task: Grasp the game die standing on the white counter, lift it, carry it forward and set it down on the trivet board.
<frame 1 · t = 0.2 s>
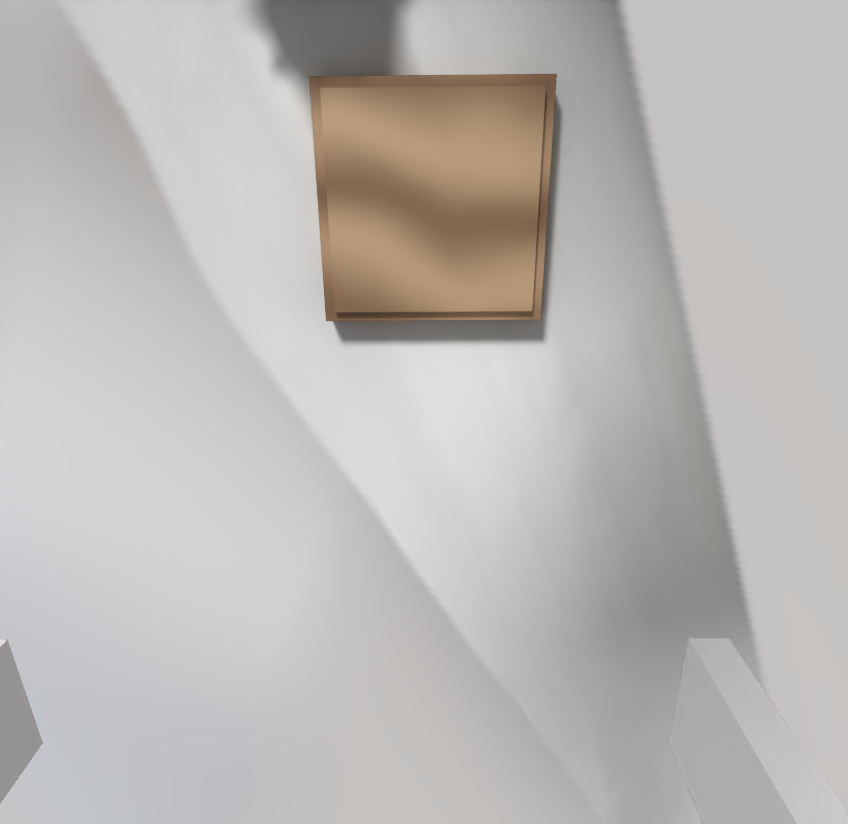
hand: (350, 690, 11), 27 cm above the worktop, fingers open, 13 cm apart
trivet: (432, 205, 34), on the worktop
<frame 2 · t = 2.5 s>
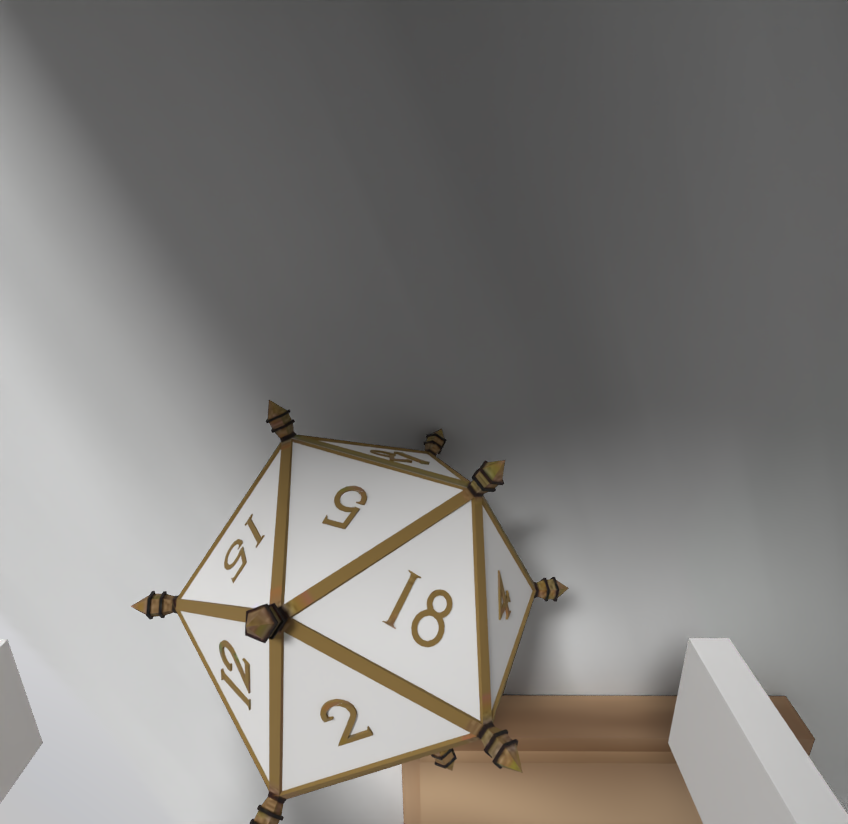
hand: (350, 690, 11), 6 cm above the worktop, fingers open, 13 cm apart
game die: (380, 501, 17), on the worktop
trivet: (576, 820, 22), on the worktop
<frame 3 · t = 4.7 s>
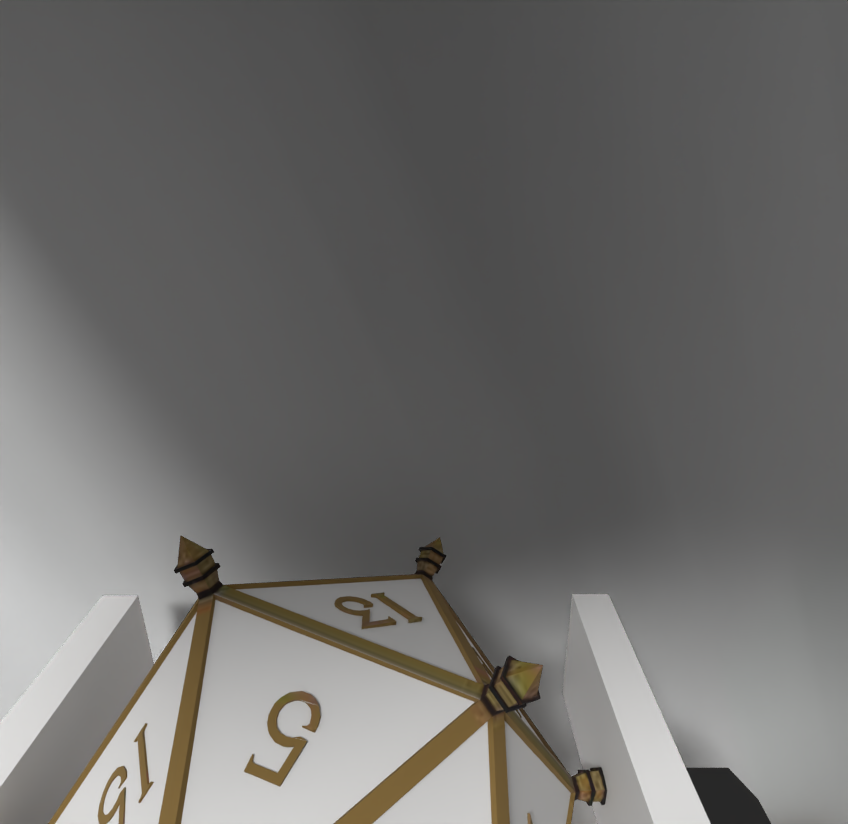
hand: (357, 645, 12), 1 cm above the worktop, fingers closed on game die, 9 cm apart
game die: (359, 625, 13), point 1 cm above the worktop, touching gripper
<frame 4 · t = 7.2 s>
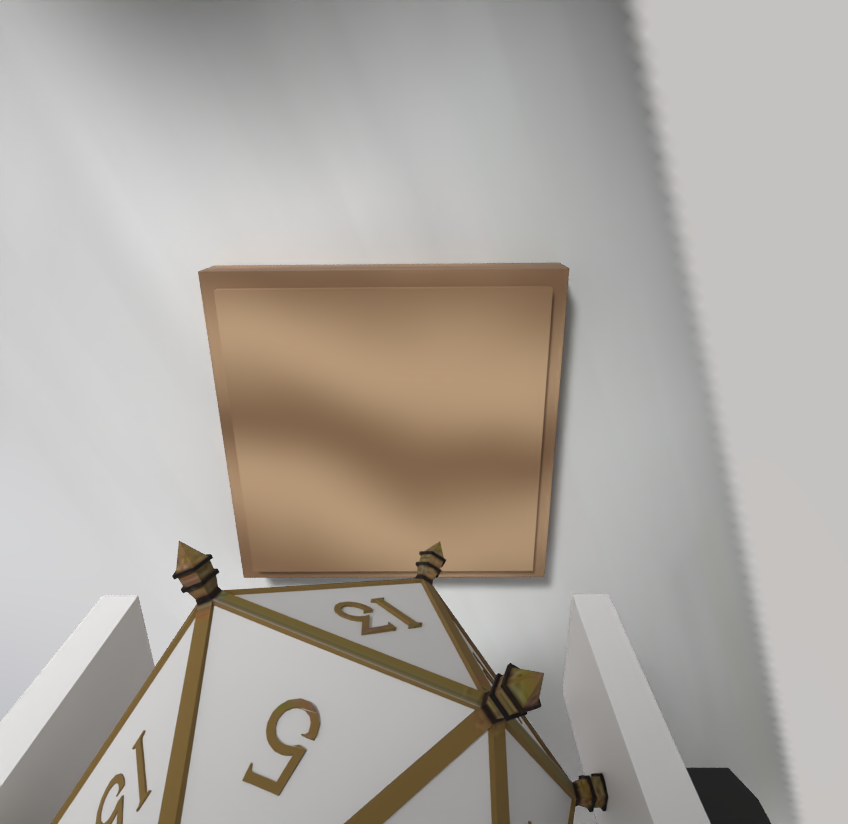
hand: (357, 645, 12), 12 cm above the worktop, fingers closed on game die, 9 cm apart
game die: (359, 629, 13), point 12 cm above the worktop, touching gripper
trivet: (391, 424, 24), on the worktop
when the fingers open (3 cm above the worktop, at t = 9.6 s): game die drops 1 cm, resting on trivet.
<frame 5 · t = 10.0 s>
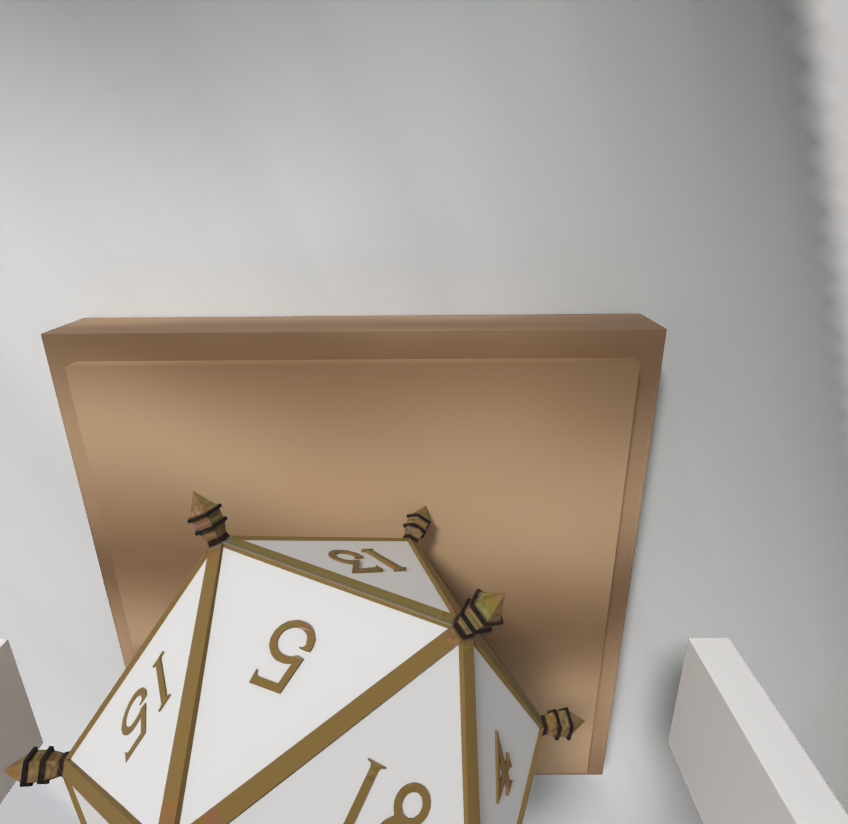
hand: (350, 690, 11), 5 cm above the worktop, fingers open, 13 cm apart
game die: (352, 589, 14), point 2 cm above the worktop, touching trivet
trivet: (372, 551, 16), on the worktop
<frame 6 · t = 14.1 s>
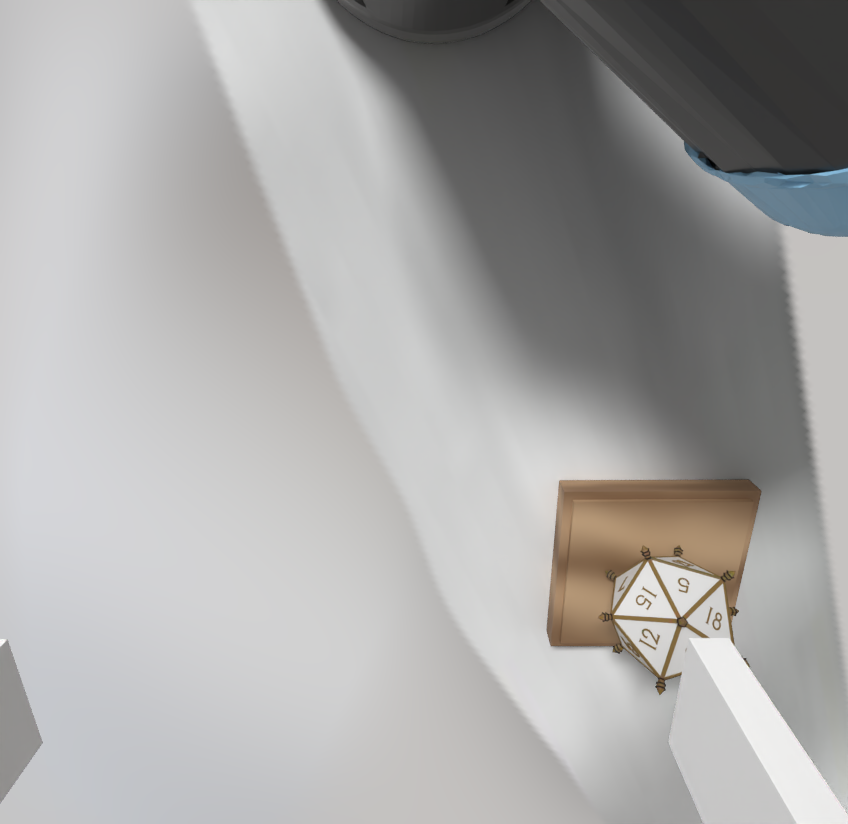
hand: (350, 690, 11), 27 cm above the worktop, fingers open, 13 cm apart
game die: (646, 572, 40), point 2 cm above the worktop, touching trivet
trivet: (641, 559, 42), on the worktop
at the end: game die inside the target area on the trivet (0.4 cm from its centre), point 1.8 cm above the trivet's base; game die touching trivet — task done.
